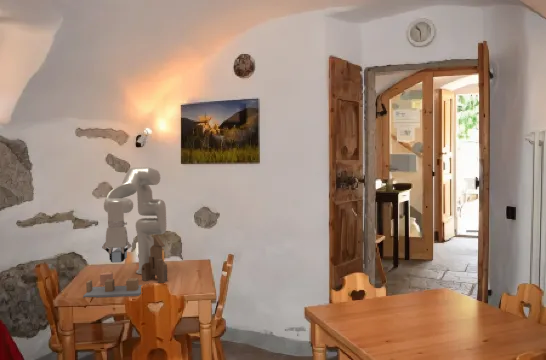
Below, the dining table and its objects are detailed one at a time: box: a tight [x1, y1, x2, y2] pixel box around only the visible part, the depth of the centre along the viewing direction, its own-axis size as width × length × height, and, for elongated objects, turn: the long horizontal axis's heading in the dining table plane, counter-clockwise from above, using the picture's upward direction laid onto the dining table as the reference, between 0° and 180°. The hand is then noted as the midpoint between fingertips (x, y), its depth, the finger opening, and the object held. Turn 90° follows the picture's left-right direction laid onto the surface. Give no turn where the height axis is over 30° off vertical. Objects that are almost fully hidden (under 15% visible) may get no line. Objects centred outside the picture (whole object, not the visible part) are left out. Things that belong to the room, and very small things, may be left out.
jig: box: [82, 277, 143, 298], centre depth 263 cm, size 16×27×6 cm, turn 94°
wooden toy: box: [141, 234, 169, 284], centre depth 285 cm, size 16×7×25 cm, turn 55°
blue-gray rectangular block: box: [111, 248, 128, 263], centre depth 265 cm, size 13×4×5 cm, turn 3°
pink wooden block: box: [99, 272, 114, 287], centre depth 279 cm, size 4×6×6 cm
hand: (117, 260), depth 260 cm, fingers closed on blue-gray rectangular block, 4 cm apart
